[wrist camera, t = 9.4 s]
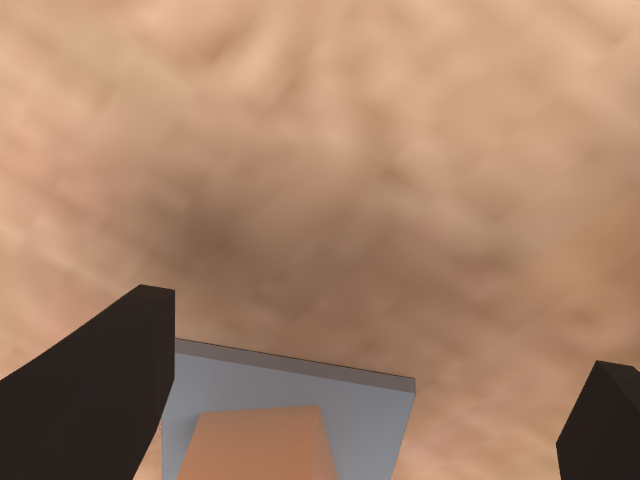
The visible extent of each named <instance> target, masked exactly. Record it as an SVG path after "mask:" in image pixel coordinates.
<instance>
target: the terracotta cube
mask: <svg viewBox="0 0 640 480" xmlns="http://www.w3.org/2000/svg"><path fill="white" fill-rule="evenodd" d="M176 480H339V479H338V475H337V472H336V468H335V464H334V460H333V456H332V453H331V449H330V445H329V441H328V437H327V434H326V430H325V426H324V422H323V418H322V414H321V411H320V407H319V405H309V406H294V407H278V408H263V409H248V410H233V411H218V412H203V413H201V414H200V417H199V419H198V422H197V425H196V427H195V430H194V433H193V436H192V438H191V441H190V444H189V446H188V449H187V452H186V454H185V457H184V460H183V462H182V465H181V468H180V471H179V473H178V476H177V479H176Z"/></svg>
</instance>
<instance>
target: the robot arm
mask: <svg viewBox="0 0 640 480" xmlns="http://www.w3.org/2000/svg"><path fill="white" fill-rule="evenodd" d="M174 379H175V290H172V289H166V288H160V287H154V286H148V285H142V284H140V285H138V286H137V287H135V288H134V289H133V290H131V291H130V292H128V293H127V294H125V295H124V296H122V297H121V298H120V299H118V300H117V301H116V302H114V303H113V304H111V305H110V306H109V307H107V308H106V309H105V310H103V311H102V312H100V313H99V314H98V315H96V316H95V317H94V318H92V319H91V320H89V321H88V322H87V323H85V324H84V325H82V326H81V327H80V328H78V329H77V330H76V331H74V332H73V333H71V334H70V335H68V336H67V337H65V338H64V339H63V340H61V341H60V342H58V343H57V344H55V345H54V346H52V347H51V348H49V349H48V350H47V351H45V352H44V353H42V354H41V355H39V356H38V357H36V358H35V359H33V360H32V361H30V362H29V363H27V364H26V365H24V366H22V367H21V368H19V369H18V370H16V371H14V372H13V373H11V374H10V375H8V376H7V377H5V378H3V379H2V380H0V480H132V479H133V477H134V475H135V473H136V471H137V469H138V467H139V465H140V463H141V461H142V459H143V457H144V455H145V453H146V451H147V449H148V447H149V445H150V443H151V441H152V439H153V437H154V435H155V433H156V430H157V427H158V425H159V422H160V419H161V416H162V414H163V411H164V408H165V405H166V403H167V400H168V397H169V394H170V391H171V388H172V385H173V382H174ZM556 448H557V455H558V462H559V469H560V476H561V480H640V372H639V371H638V370H637V369H635V368H634V367H633V366H627V365H621V364H616V363H610V362H604V361H598V360H596V362H595V364H594V366H593V368H592V370H591V373H590V375H589V377H588V379H587V381H586V383H585V385H584V387H583V389H582V391H581V393H580V395H579V397H578V399H577V401H576V403H575V405H574V407H573V409H572V411H571V414H570V416H569V418H568V420H567V422H566V424H565V426H564V428H563V430H562V432H561V434H560V436H559V438H558V440H557V442H556Z"/></svg>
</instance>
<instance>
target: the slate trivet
mask: <svg viewBox="0 0 640 480" xmlns="http://www.w3.org/2000/svg"><path fill="white" fill-rule="evenodd" d="M415 394H416V391H415V379H412V378H406V377H400V376H394V375H388V374H382V373H376V372H370V371H364V370H358V369H352V368H347V367H341V366H335V365H329V364H323V363H317V362H311V361H305V360H299V359H293V358H287V357H281V356H275V355H270V354H264V353H258V352H252V351H246V350H240V349H234V348H228V347H222V346H216V345H210V344H204V343H199V342H193V341H187V340H181V339H175V379H174V382H173V385H172V388H171V391H170V394H169V397H168V400H167V403H166V405H165V408H164V411H163V414H162V416H161V417H162V480H176V479H177V476H178V473H179V471H180V468H181V465H182V462H183V460H184V457H185V454H186V452H187V449H188V446H189V444H190V441H191V438H192V436H193V433H194V430H195V427H196V425H197V422H198V419H199V417H200V414H201V413H203V412H218V411H233V410H248V409H263V408H278V407H294V406H309V405H319V407H320V411H321V414H322V418H323V422H324V426H325V430H326V434H327V437H328V441H329V445H330V449H331V453H332V456H333V460H334V464H335V468H336V472H337V475H338V479H339V480H391V477H392V473H393V470H394V466H395V463H396V460H397V456H398V453H399V449H400V446H401V442H402V439H403V435H404V432H405V429H406V425H407V422H408V418H409V415H410V411H411V408H412V404H413V401H414V398H415Z"/></svg>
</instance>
